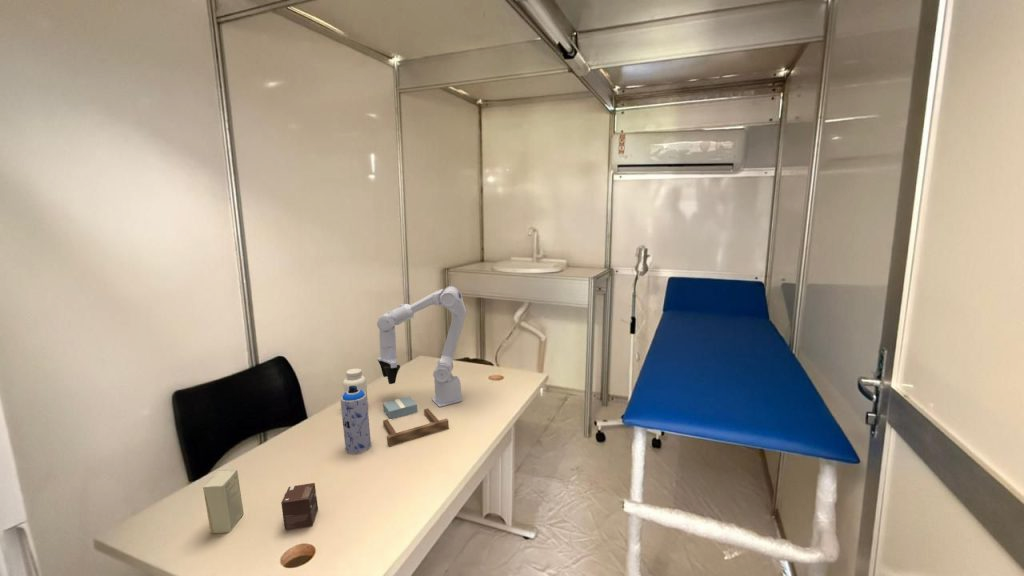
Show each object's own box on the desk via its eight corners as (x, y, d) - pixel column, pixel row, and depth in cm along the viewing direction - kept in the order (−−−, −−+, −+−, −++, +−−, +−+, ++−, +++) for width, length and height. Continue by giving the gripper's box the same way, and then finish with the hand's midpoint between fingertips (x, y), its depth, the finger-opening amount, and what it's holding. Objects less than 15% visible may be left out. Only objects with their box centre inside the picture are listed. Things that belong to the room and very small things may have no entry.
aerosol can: (340, 447, 129) (334, 387, 125) (364, 437, 135) (358, 379, 131) (352, 457, 124) (346, 394, 120) (376, 446, 129) (371, 386, 126)
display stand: (433, 411, 151) (433, 404, 150) (448, 428, 139) (448, 420, 139) (377, 427, 141) (376, 419, 140) (388, 446, 129) (388, 437, 128)
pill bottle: (372, 404, 158) (368, 367, 155) (362, 414, 150) (358, 375, 147) (351, 403, 159) (348, 366, 156) (341, 414, 151) (337, 374, 148)
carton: (410, 405, 158) (409, 396, 157) (417, 413, 151) (416, 404, 150) (383, 411, 153) (383, 402, 152) (389, 420, 146) (389, 411, 145)
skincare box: (225, 515, 101) (218, 469, 99) (245, 513, 101) (238, 468, 99) (209, 534, 95) (201, 486, 93) (230, 533, 95) (222, 485, 93)
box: (312, 526, 97) (309, 498, 95) (284, 531, 95) (280, 502, 94) (318, 508, 102) (315, 482, 101) (292, 513, 101) (288, 485, 100)
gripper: (372, 341, 159) (373, 375, 161) (382, 352, 147) (383, 389, 149) (390, 339, 163) (391, 371, 165) (401, 349, 151) (402, 385, 153)
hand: (389, 379), depth 158 cm, fingers open, 7 cm apart
